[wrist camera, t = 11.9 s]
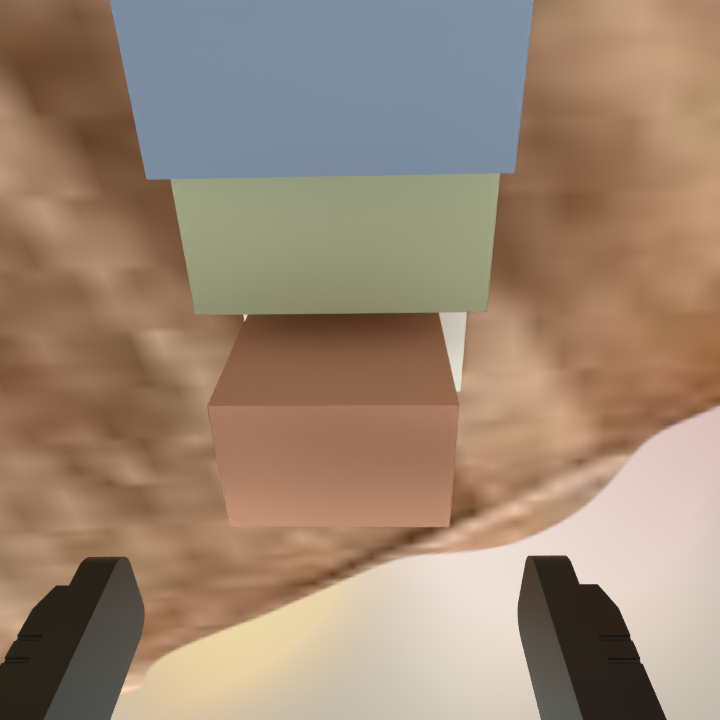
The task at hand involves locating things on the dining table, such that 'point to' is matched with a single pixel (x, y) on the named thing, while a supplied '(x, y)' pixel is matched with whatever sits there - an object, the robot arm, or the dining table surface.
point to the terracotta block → (337, 421)
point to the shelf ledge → (331, 147)
